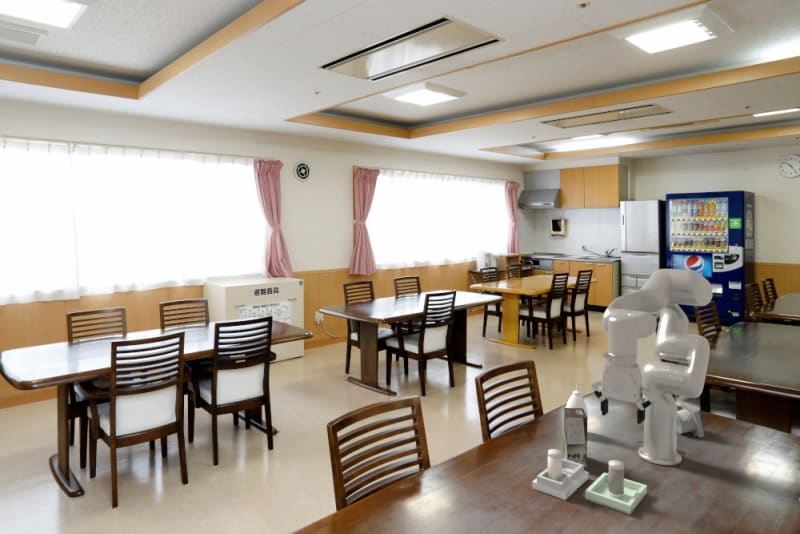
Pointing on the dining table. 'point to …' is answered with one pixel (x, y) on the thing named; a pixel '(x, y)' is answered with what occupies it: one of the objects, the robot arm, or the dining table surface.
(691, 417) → the voltmeter
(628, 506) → the parts tray
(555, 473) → the fuse block
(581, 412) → the coffee box
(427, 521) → the dining table surface
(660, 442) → the robot arm
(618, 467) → the cylinder
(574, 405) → the sauce bottle
